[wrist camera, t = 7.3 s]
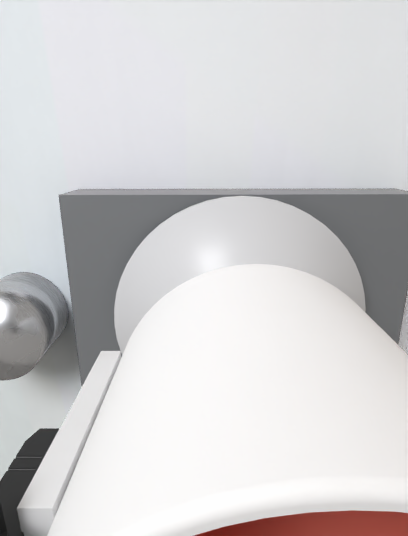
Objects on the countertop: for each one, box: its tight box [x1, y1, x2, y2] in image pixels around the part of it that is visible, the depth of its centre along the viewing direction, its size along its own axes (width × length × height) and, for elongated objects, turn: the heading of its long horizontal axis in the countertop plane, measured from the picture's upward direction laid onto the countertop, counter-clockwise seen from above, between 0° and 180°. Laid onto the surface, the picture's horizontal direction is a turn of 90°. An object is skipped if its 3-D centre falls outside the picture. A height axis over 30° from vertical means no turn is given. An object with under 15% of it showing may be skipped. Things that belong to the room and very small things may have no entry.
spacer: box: [0, 272, 68, 380], centre depth 21 cm, size 5×5×4 cm
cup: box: [47, 264, 408, 536], centre depth 10 cm, size 10×10×10 cm
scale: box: [59, 189, 408, 386], centre depth 21 cm, size 13×18×4 cm
